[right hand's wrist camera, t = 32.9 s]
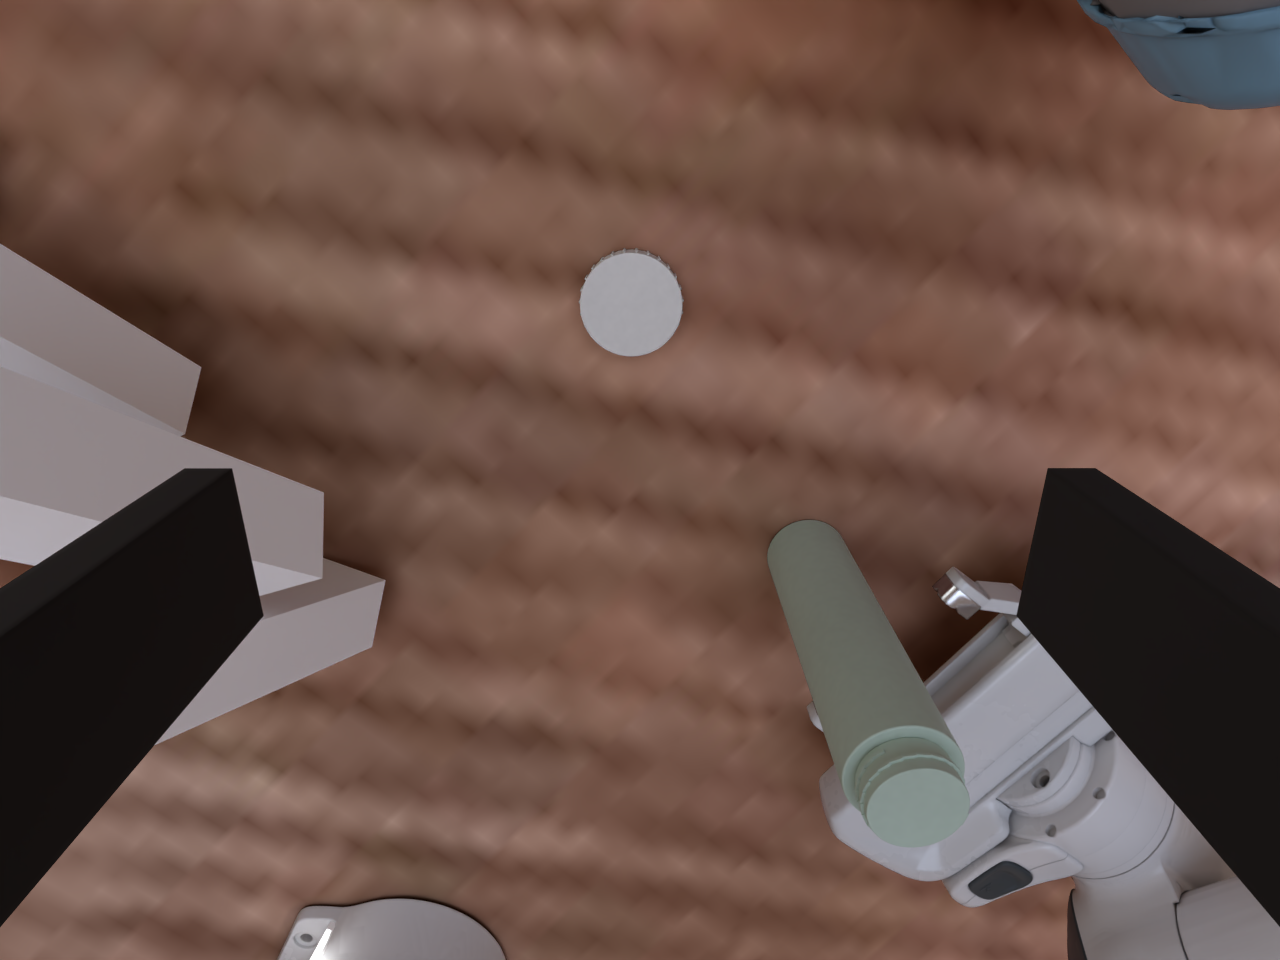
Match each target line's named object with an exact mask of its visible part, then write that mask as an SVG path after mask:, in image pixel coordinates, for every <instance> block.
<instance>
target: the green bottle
mask: <svg viewBox="0 0 1280 960" xmlns="http://www.w3.org/2000/svg"><path fill="white" fill-rule="evenodd" d="M767 561H768V566H769V569H770V572H771V575H772V578H773V581H774V584H775V587H776V590H777V593H778V596H779V599H780V602H781V605H782V608H783V611H784V614H785V617H786V620H787V623H788V626H789V629H790V632H791V636H792V639H793V642H794V645H795V648H796V651H797V654H798V657H799V660H800V663H801V666H802V669H803V672H804V675H805V678H806V681H807V684H808V687H809V690H810V693H811V696H812V699H813V702H814V705H815V708H816V711H817V714H818V717H819V720H820V723H821V726H822V729H823V732H824V735H825V738H826V741H827V744H828V747H829V750H830V753H831V756H832V759H833V762H834V765H835V768H836V771H837V774H838V777H839V780H840V783H841V786H842V789H843V792H844V794H845V796H846V798H847V799H848V801H849V802H850V803H851V804H852V806H854V807H855V808H856V809H857V810H858V811H860V812H861V815H862V817H863V819H864V821H865V823H866V825H867V826H868V827H869V828H870V829H871V830H872V831H873V832H874V833H875V834H876V835H877V836H878V837H879V838H880V839H882V840H883V841H885V842H887V843H890V844H892V845H895V846H900V847H923V846H928V845H931V844H935V843H937V842H939V841H942V840H944V839H945V838H947V837H949V836H950V835H952V834H953V833H954V832H955V831H956V830H957V829H958V828H959V827H960V826H961V825H963V824H964V822H965V820H966V818H967V817H968V815H969V814H968V812H969V807H970V798H969V793H968V790H967V789H966V787H965V779H964V772H965V763H964V757H963V754H962V752H961V750H960V748H959V746H958V744H957V742H956V741H955V739H954V737H953V735H952V734H951V732H950V730H949V728H948V726H947V725H946V723H945V721H944V719H943V717H942V716H941V714H940V712H939V710H938V709H937V707H936V705H935V703H934V701H933V700H932V698H931V696H930V694H929V692H928V691H927V689H926V687H925V685H924V684H923V682H922V680H921V678H920V676H919V675H918V673H917V671H916V669H915V667H914V666H913V664H912V662H911V660H910V658H909V657H908V655H907V653H906V651H905V650H904V648H903V646H902V644H901V642H900V641H899V639H898V637H897V635H896V633H895V632H894V630H893V628H892V626H891V625H890V623H889V621H888V619H887V617H886V616H885V614H884V612H883V610H882V608H881V607H880V605H879V603H878V601H877V600H876V598H875V596H874V594H873V592H872V591H871V589H870V587H869V585H868V583H867V582H866V580H865V578H864V576H863V575H862V573H861V571H860V569H859V567H858V566H857V564H856V562H855V560H854V558H853V557H852V555H851V553H850V551H849V549H848V548H847V546H846V544H845V542H844V541H843V539H842V537H841V535H840V534H839V533H838V531H837V530H835V529H834V528H833V527H832V526H830V525H828V524H827V523H824V522H821V521H817V520H802V521H797V522H794V523H792V524H790V525H788V526H786V527H784V528H783V529H782V530H781V531H779V532H778V533H777V534H776V536H775V537H774V538H773V540H772V542H771V543H770V546H769V549H768V553H767Z"/></svg>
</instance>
